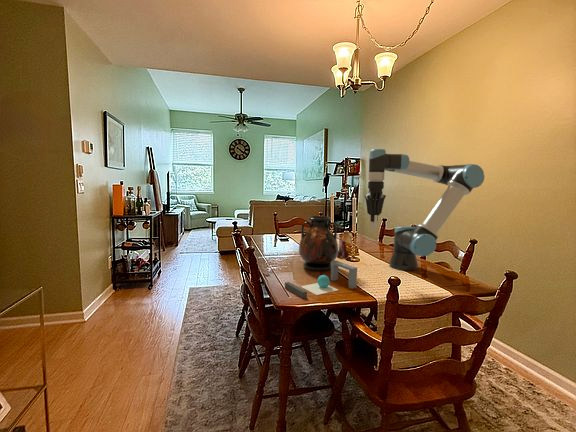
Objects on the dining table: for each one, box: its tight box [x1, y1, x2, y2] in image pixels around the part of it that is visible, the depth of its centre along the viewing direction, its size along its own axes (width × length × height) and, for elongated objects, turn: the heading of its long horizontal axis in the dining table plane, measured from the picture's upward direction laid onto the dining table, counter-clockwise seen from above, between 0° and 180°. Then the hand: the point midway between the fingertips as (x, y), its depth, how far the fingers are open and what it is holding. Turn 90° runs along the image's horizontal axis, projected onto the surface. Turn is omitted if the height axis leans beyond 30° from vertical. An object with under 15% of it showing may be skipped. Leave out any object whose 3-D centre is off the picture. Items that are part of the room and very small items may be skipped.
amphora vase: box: [298, 215, 339, 272], centre depth 169 cm, size 22×22×28 cm
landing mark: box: [299, 282, 339, 296], centre depth 138 cm, size 12×12×1 cm
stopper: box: [284, 281, 308, 299], centre depth 132 cm, size 2×14×2 cm, turn 32°
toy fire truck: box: [336, 238, 350, 259], centre depth 197 cm, size 7×12×10 cm, turn 3°
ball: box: [316, 274, 331, 288], centre depth 139 cm, size 6×6×6 cm
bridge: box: [329, 259, 358, 289], centre depth 145 cm, size 3×14×9 cm, turn 32°
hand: (373, 228), depth 157 cm, fingers closed
